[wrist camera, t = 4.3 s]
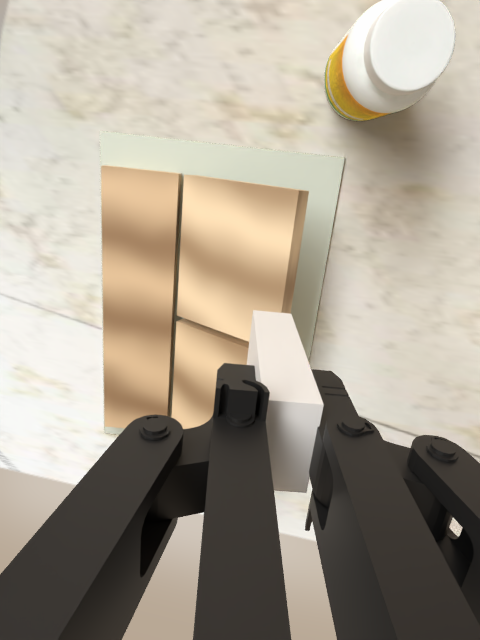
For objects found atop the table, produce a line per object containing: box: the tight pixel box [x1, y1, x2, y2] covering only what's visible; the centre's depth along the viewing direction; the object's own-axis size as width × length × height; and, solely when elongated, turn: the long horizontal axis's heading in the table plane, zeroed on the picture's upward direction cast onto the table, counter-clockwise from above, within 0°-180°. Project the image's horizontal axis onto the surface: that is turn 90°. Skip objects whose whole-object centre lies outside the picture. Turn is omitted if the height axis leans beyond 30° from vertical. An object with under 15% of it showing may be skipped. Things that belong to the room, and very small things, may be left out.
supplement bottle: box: [324, 0, 456, 121], centre depth 24 cm, size 5×5×10 cm
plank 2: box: [171, 318, 249, 429], centre depth 34 cm, size 10×9×1 cm
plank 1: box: [177, 175, 309, 342], centre depth 30 cm, size 10×9×1 cm
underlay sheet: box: [100, 131, 345, 434], centre depth 35 cm, size 26×18×1 cm
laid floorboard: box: [101, 165, 182, 428], centre depth 34 cm, size 22×5×1 cm, turn 174°
